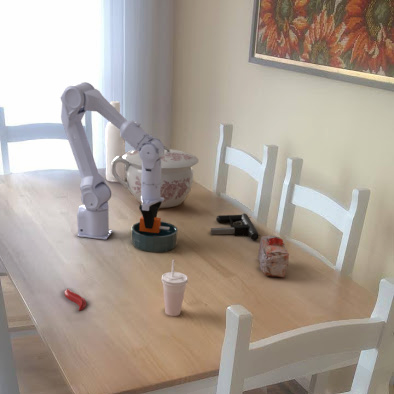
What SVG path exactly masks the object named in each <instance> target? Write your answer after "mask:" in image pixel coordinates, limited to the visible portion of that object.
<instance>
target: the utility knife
mask: <svg viewBox="0 0 394 394" xmlns="http://www.w3.org/2000/svg"><path fill="white" fill-rule="evenodd" d="M139 222H140V231H144V232H153V233H159V232H160V229H165V230H169V228H170V227H164V226H161V222H162V217H155V218H154V224H153V227H152V229H149V228H145V224H144V219H143V215H141V216H140V217H139Z"/></svg>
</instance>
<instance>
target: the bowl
mask: <svg viewBox="0 0 394 394" xmlns="http://www.w3.org/2000/svg"><path fill="white" fill-rule="evenodd" d="M161 226H164V227H170V228H169V230H165V229H160V232H159V233H153V232H144V231H140V221H139V222H136V223H134V224H133V225H132V226H131V231H130V232H131V233H130V234H131V235H130V236H131V237H130V238H131V239H130V240H131V244H132V245H133V247H134V248H136V249H137V250H140V251H143V252H149V253H164V252H169V251H171V250H173V249H174V248H176V246H177V244H178V231H179V229H178V228H177V226H176V225H174V224H172V223H170V222H167V221H161Z"/></svg>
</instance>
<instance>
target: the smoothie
mask: <svg viewBox="0 0 394 394" xmlns="http://www.w3.org/2000/svg"><path fill="white" fill-rule="evenodd" d="M171 261H172V262H171V271H167V272H165V273H163V274H162V275H161V279H160V280H161V283H162V289H163V299H164V300H163V301H164V310H165V314H166V315H167V316H171V317H177V316H179V315H180V314H181V311H182V306H183V301H184V296H185V292H186V288H187V287H186V286H187V284H188V283H189V278H188V275H186V274H185V273H183V272H179V271H175V259H172V260H171Z"/></svg>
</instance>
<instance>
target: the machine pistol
mask: <svg viewBox="0 0 394 394" xmlns="http://www.w3.org/2000/svg"><path fill="white" fill-rule="evenodd" d="M251 218H252V217H251V216H250V217H249V215H248V214H247V213H245V212H244V213H241V214H223V215H221V214H220V215H217V216H216V219H215V220H216V222H217V223H219V224H229V226H230V227H211V228H210V235H212V236H214V235H215V236H216V235H234V236H235V237H243V236H244V237H245V236H249V238H250V239H251V240H252V241H257V240H258V239H259V237H260V236H261V234H259V232H258V230H257V229H256V227H255V225H254V224H253V222H252V219H251Z"/></svg>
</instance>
